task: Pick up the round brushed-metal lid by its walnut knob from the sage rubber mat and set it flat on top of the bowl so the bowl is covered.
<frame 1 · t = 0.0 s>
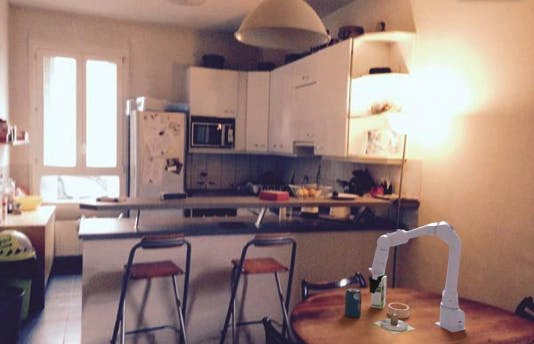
hand: (373, 290, 194), 11 cm above the table, tool pointing down, fingers open, 7 cm apart
bowl: (398, 315, 193), on the table
mat: (393, 326, 180), on the table
soda can: (352, 316, 190), on the table
lid: (394, 325, 180), resting on mat
syrup box: (378, 306, 203), on the table
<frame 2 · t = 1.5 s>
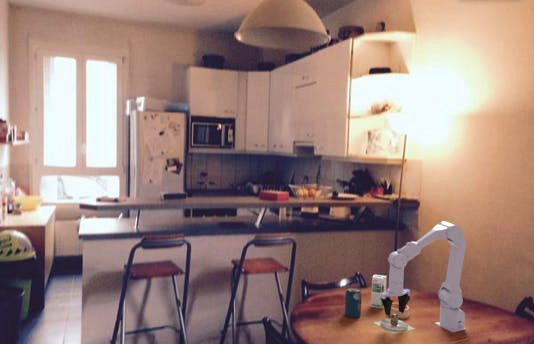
hand: (394, 313, 180), 6 cm above the table, tool pointing down, fingers open, 7 cm apart
nothing on the table moved.
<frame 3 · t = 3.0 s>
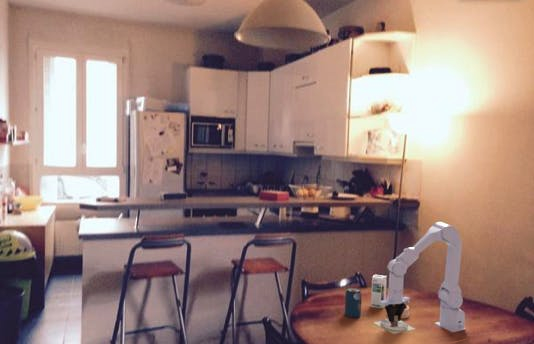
hand: (394, 321, 180), 2 cm above the table, tool pointing down, fingers closed on lid, 3 cm apart
lid: (394, 325, 180), resting on mat, touching gripper
everything else where it was.
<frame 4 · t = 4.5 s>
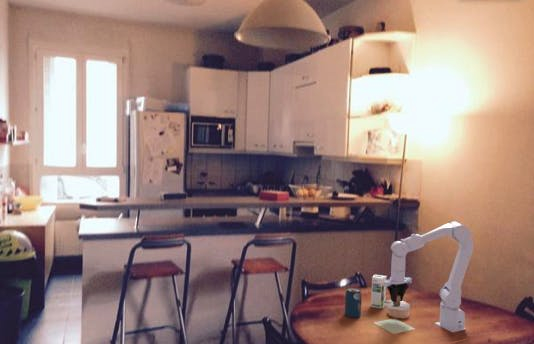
hand: (396, 301, 184), 9 cm above the table, tool pointing down, fingers closed on lid, 3 cm apart
lid: (396, 305, 184), point 7 cm above the table, touching gripper
everything else where it was.
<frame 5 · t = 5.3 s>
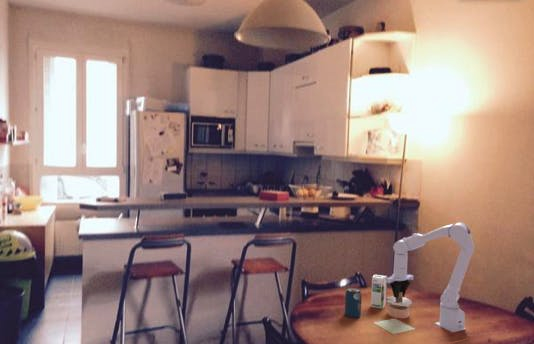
hand: (398, 296, 193), 8 cm above the table, tool pointing down, fingers closed on lid, 3 cm apart
lid: (398, 301, 193), point 6 cm above the table, touching gripper
everything else where it was.
when the fingers open (8 cm above the table, at t = 6.1 s): lid drops 1 cm, resting on bowl.
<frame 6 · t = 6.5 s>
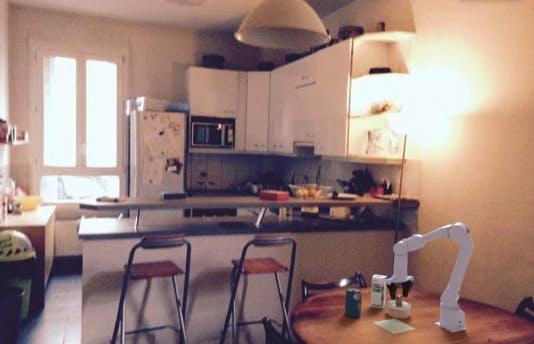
hand: (398, 298, 193), 8 cm above the table, tool pointing down, fingers open, 7 cm apart
lid: (398, 306, 193), point 4 cm above the table, touching bowl
everything else where it was.
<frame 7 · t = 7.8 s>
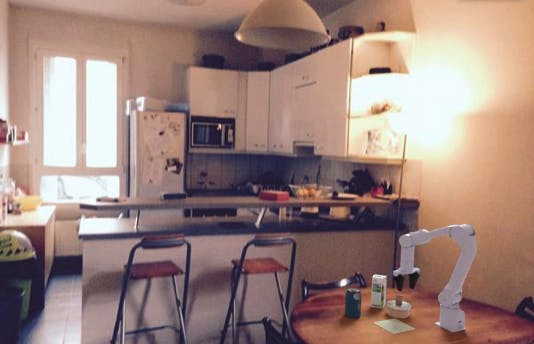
hand: (405, 289, 197), 10 cm above the table, tool pointing down, fingers open, 7 cm apart
nothing on the table moved.
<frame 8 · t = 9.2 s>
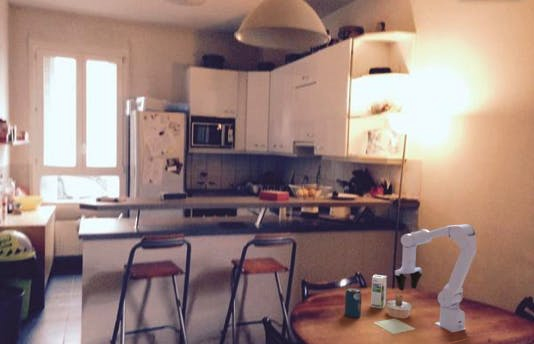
hand: (407, 289, 198), 10 cm above the table, tool pointing down, fingers open, 7 cm apart
nothing on the table moved.
at the end: lid 0.1 cm off-centre on the bowl, point 4.0 cm above the bowl's base; lid tilted 0°; the gripper is holding nothing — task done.
